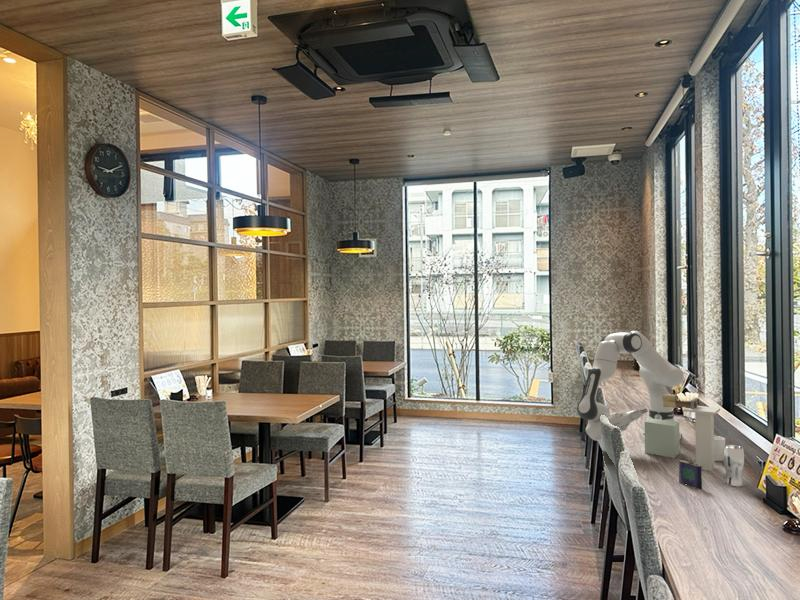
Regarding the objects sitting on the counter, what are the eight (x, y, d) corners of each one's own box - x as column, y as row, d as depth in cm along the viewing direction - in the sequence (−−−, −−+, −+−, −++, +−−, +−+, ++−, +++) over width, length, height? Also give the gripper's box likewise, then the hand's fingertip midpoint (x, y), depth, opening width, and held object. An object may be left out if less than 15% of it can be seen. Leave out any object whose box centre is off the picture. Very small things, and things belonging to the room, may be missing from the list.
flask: (677, 482, 212) (677, 456, 212) (682, 481, 213) (682, 455, 213) (699, 489, 204) (699, 462, 204) (704, 488, 205) (704, 461, 205)
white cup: (703, 459, 243) (703, 437, 243) (707, 455, 248) (707, 434, 249) (723, 462, 237) (723, 440, 237) (727, 458, 243) (726, 437, 243)
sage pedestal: (650, 448, 261) (650, 418, 261) (679, 453, 253) (679, 422, 253) (644, 452, 253) (644, 421, 254) (674, 457, 245) (674, 425, 245)
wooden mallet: (666, 405, 242) (665, 394, 243) (697, 406, 234) (696, 395, 234) (663, 406, 238) (662, 395, 239) (695, 408, 230) (694, 396, 230)
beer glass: (726, 480, 214) (725, 443, 214) (746, 484, 209) (745, 446, 209) (721, 484, 209) (721, 446, 209) (741, 488, 204) (741, 450, 204)
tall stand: (690, 461, 239) (689, 396, 239) (720, 467, 231) (720, 399, 231) (684, 468, 230) (683, 400, 230) (715, 473, 222) (714, 403, 222)
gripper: (607, 420, 247) (633, 408, 239) (621, 413, 262) (646, 402, 255) (614, 432, 245) (641, 421, 237) (627, 425, 260) (653, 414, 253)
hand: (644, 411), depth 246 cm, fingers open, 8 cm apart
